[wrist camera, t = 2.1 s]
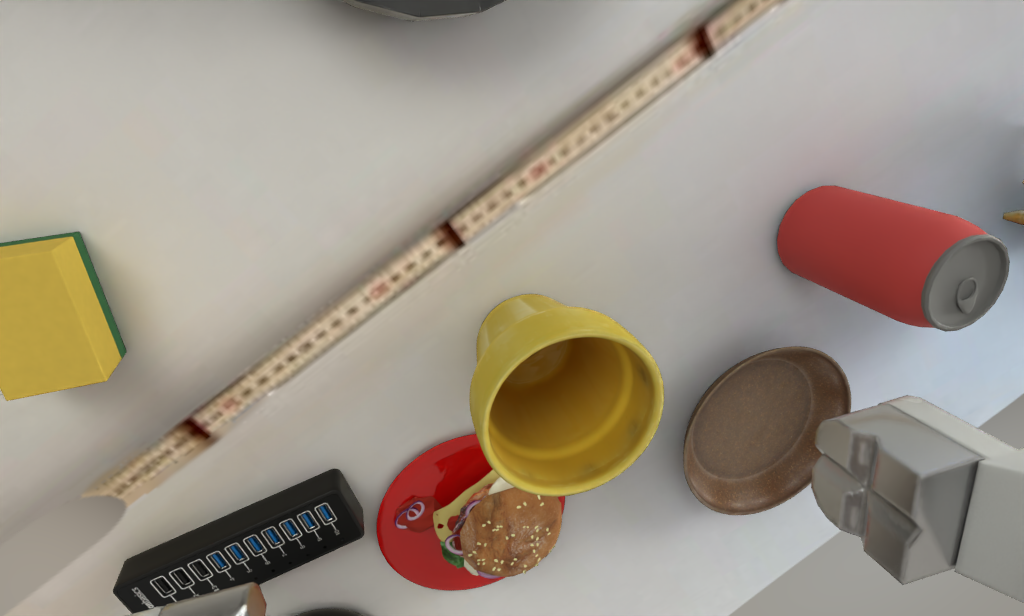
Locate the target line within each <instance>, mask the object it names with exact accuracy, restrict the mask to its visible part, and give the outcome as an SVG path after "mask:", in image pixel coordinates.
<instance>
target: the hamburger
mask: <svg viewBox="0 0 1024 616" xmlns="http://www.w3.org/2000/svg"><path fill="white" fill-rule="evenodd" d="M564 504H565V496H541V495H535V494H531V493H528V492H525V491H522V490H520V489H518V488H516V487H514V486H512V485H510V484H509V483H507V482H506V481H505V480H503V479H502V478H501V477H500V476H499V475H498V474H497V473H496V472H495V471H494V470H493V468H492V467H491V466H490V464H489V463H488V461H487V459H486V457H485V455H484V453H483V451H482V448H481V446H480V443H479V440H478V437H477V434H472V435H467V436H462V437H459V438H455V439H452V440H449V441H447V442H444V443H442V444H440V445H437V446H435V447H433V448H432V449H430V450H428V451H426V452H425V453H423V454H422V455H420V456H419V457H417V458H416V459H415V460H414V461H412V462H411V463H410V464H409V465H408V466H407V467H405V468H404V469H403V470H402V472H401V473H400V474H399V475H398V476H397V477H396V478H395V480H394V481H393V482H392V484H391V485H390V487H389V489H388V490H387V492H386V494H385V496H384V498H383V500H382V503H381V506H380V509H379V513H378V518H377V538H378V543H379V546H380V549H381V551H382V553H383V555H384V557H385V559H386V560H387V562H388V563H389V564H390V566H391V567H392V568H393V569H394V570H395V571H396V572H397V573H399V574H400V575H401V576H403V577H404V578H406V579H407V580H409V581H411V582H413V583H416V584H418V585H421V586H424V587H428V588H432V589H438V590H466V589H472V588H477V587H481V586H485V585H488V584H491V583H494V582H496V581H499V580H501V579H503V578H505V577H510V576H514V575H517V574H520V573H523V572H524V574H525V573H526V571H528V570H530V569H531V568H533V567H535V566H538V563H539V562H540V561H541V560H542V559H543V558H544V557H546V556H547V555H548V553H549V552H551V549H552V548H554V547H555V543H556V541H557V538H558V536H559V533H560V528H561V523H562V514H563V510H564Z"/></svg>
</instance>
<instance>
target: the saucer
mask: <svg viewBox="0 0 1024 616" xmlns="http://www.w3.org/2000/svg"><path fill="white" fill-rule="evenodd" d="M850 411H851V392H850V387H849V383H848V380H847V377H846V375H845V373H844V372H843V370H842V368H841V367H840V366H839V365H838V363H837V362H836V361H835V360H834V359H832V358H831V357H830V356H828V355H827V354H825V353H823V352H821V351H819V350H816V349H812V348H808V347H785V348H778V349H773V350H769V351H765V352H762V353H759V354H756V355H754V356H751V357H749V358H747V359H745V360H743V361H741V362H740V363H738V364H736V365H735V366H733V367H732V368H730V369H729V370H728V371H726V372H725V373H724V374H722V375H721V376H720V377H719V378H718V379H717V380H716V381H715V382H714V383H713V384H712V385H711V386H710V387H709V389H708V390H707V391H706V392H705V394H704V395H703V397H702V398H701V400H700V401H699V403H698V404H697V406H696V408H695V410H694V412H693V414H692V416H691V419H690V421H689V424H688V427H687V431H686V435H685V440H684V451H683V465H684V473H685V477H686V480H687V483H688V485H689V487H690V489H691V491H692V493H693V494H694V495H695V497H696V498H697V499H698V500H699V501H700V502H701V503H702V504H704V505H705V506H706V507H708V508H710V509H711V510H714V511H716V512H720V513H723V514H728V515H748V514H754V513H759V512H762V511H766V510H768V509H771V508H773V507H776V506H778V505H780V504H782V503H784V502H785V501H787V500H789V499H791V498H792V497H794V496H795V495H797V494H798V493H799V492H801V491H802V490H803V489H804V488H806V487H807V486H808V485H809V484H810V483H811V482H812V469H813V467H814V466H815V464H816V463H817V461H818V459H819V458H820V456H821V455H822V453H821V452H820V451H819V450H818V448H817V447H816V446H815V437H816V430H817V428H818V427H819V425H820V424H821V422H822V421H824V420H827V419H831V418H834V417H838V416H841V415H845V414H848V413H850Z"/></svg>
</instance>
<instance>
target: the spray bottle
mask: <svg viewBox="0 0 1024 616" xmlns="http://www.w3.org/2000/svg"><path fill="white" fill-rule="evenodd" d="M296 616H363V615H361V614H359V613H356V612H353V611H349V610H343V609H318V610H312V611H308V612H304V613H301V614H298V615H296Z"/></svg>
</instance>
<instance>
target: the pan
mask: <svg viewBox="0 0 1024 616" xmlns="http://www.w3.org/2000/svg"><path fill="white" fill-rule="evenodd" d="M342 1H344V2H345V3H347V4H349V5H350V6H353V7H356V8H360V9H364V10H367V11H371V12H375V13H379V14H383V15H387V16H391V17H395V18H399V19H403V20H407V21H423V20H434V19H445V18H456V17H466V16H470V15H473V14H476V13H480V12H483V11H485V10H487V9H489V8H491V7H493V6H495V5H497V4H500V3H502V2H504V1H506V0H342Z"/></svg>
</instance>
